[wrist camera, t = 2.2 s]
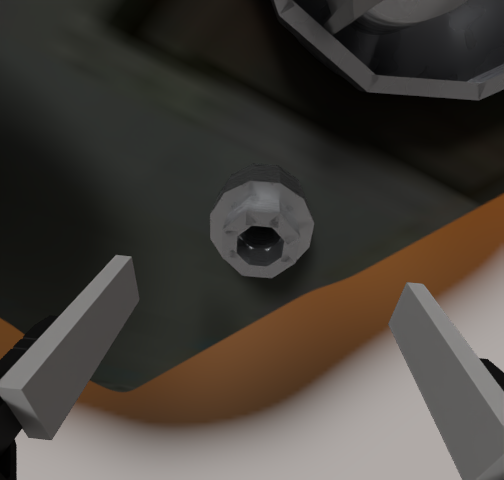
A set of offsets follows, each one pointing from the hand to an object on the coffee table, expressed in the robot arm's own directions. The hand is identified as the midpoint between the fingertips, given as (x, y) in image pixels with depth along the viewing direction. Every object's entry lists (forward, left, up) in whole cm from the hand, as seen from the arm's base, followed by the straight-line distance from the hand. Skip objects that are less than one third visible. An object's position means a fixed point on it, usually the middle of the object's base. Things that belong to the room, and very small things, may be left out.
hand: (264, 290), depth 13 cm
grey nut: (0, 0, -10) cm, 10 cm away
